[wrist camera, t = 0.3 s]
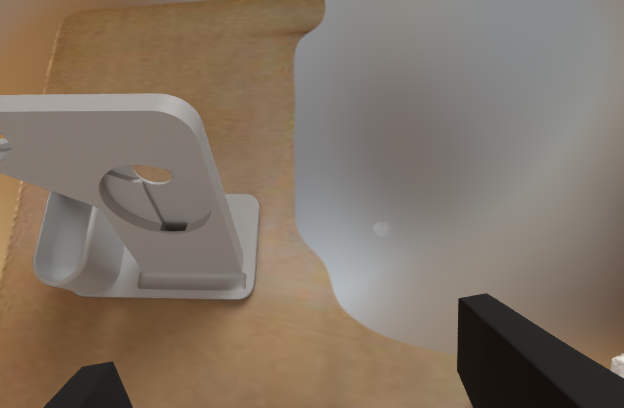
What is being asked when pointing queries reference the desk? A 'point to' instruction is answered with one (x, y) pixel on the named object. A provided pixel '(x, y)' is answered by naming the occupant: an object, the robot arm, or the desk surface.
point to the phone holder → (129, 198)
